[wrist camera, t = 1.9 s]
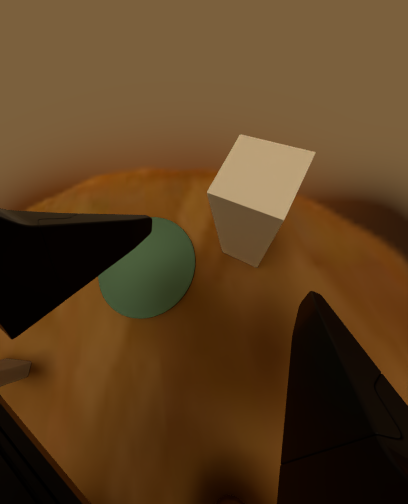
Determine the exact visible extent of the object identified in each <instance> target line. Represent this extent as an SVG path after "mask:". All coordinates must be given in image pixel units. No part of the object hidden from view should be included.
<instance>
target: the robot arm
mask: <svg viewBox="0 0 408 504" xmlns="http://www.w3.org/2000/svg"><path fill="white" fill-rule="evenodd" d="M151 232H152V218H151V217H149V216H147V215H118V214H77V213H48V212H31V211H14V210H6V209H0V328H1V329H2V330H3V331H4V332H5V333H6V334H7V335H8V336H9V337H10V338H11V339H14V338H16V337H17V336H19V335H20V334H21V333H23V332H24V331H25V330H27V329H28V328H29V327H31V326H32V325H33V324H35V323H36V322H37V321H39V320H40V319H41V318H43V317H44V316H45V315H47V314H48V313H49V312H51V311H52V310H53V309H55V308H56V307H57V306H59V305H60V304H61V303H63V302H64V301H65V300H67V299H68V298H69V297H71V296H72V295H73V294H75V293H76V292H77V291H79V290H80V289H81V288H83V287H84V286H85V285H87V284H88V283H89V282H91V281H92V280H93V279H95V278H96V277H97V276H99V275H100V274H101V273H103V272H104V271H105V270H107V269H108V268H109V267H111V266H112V265H113V264H115V263H116V262H117V261H119V260H120V259H121V258H123V257H124V256H126V255H127V254H128V253H130V252H131V251H132V250H133V249H135V248H136V247H137V246H138V245H139V244H140V243H141V242H142V241H143V240H144V239H146V238H147V237H148V236H149V235H150V234H151ZM0 504H91V503H90V502H89V501H88V500H87V498H86V497H85V496H84V495H83V494H82V492H81V491H80V490H79V489H78V488H77V486H76V485H75V484H74V483H73V482H72V480H71V479H70V478H69V477H68V476H67V474H66V473H65V472H64V471H63V470H62V468H61V467H60V466H59V465H58V464H57V462H56V461H55V460H54V459H53V458H52V456H51V455H50V454H49V453H48V452H47V450H46V449H45V448H44V447H43V446H42V444H41V443H40V442H39V441H38V440H37V438H36V437H35V436H34V435H33V434H32V433H31V431H30V430H29V429H28V428H27V427H26V425H25V424H24V423H23V422H22V421H21V419H20V418H19V417H18V416H17V415H16V413H15V412H14V411H13V410H12V409H11V407H10V406H9V405H8V404H7V403H6V401H5V400H4V399H3V398H2V397H1V395H0ZM277 504H408V406H407V404H406V403H405V402H404V401H403V399H402V398H401V397H400V396H399V394H398V393H397V392H396V391H395V389H394V388H393V387H392V385H391V384H390V383H389V382H388V380H387V379H386V378H385V376H384V375H383V374H381V371H380V370H379V369H378V367H377V366H376V365H375V364H374V362H373V361H372V360H371V358H370V357H369V356H368V355H367V353H366V352H365V351H364V349H363V348H362V347H361V346H360V344H359V343H358V342H357V340H356V339H355V338H354V337H353V335H352V334H351V333H350V331H349V330H348V329H347V328H346V326H345V325H344V324H343V322H342V321H341V320H340V319H339V317H338V316H337V315H336V313H335V312H334V311H333V310H332V308H331V307H330V306H329V304H328V303H327V302H326V301H325V299H324V298H323V297H322V295H320V294H318V293H316V292H314V291H310V292H309V293H308V294H307V296H306V297H305V298H304V299H303V301H302V302H301V304H300V306H299V309H298V313H297V318H296V322H295V326H294V330H293V335H292V345H291V356H290V367H289V378H288V389H287V400H286V411H285V422H284V433H283V444H282V455H281V466H280V475H279V486H278V497H277Z"/></svg>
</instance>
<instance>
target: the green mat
mask: <svg viewBox="0 0 408 504" xmlns="http://www.w3.org/2000/svg"><path fill="white" fill-rule="evenodd" d="M151 218H152V232H151V234H150V235H149V236H148V237H147V238H146V239H144V240H143V241H142V242H141V243H140V244H139V245H138V246H137V247H136V248H135V249H133V250H132V251H131V252H130V253H128V254H127V255H126V256H124V257H123V258H121V259H120V260H119V261H117V262H116V263H115V264H113V265H112V266H111V267H109V268H108V269H107V270H105V271H104V272H103V273H101V274H100V275H99V276H98V278H99V286H100V289H101V292H102V294H103V297H104V298H105V300H106V302H107V303H108V304H109V305H110V306H111V307H112V308H113V309H114V310H115V311H117V312H118V313H120V314H122V315H124V316H127V317H131V318H149V317H153V316H157V315H159V314H162V313H164V312H166V311H167V310H169V309H170V308H172V307H173V306H174V305H175V304H177V303H178V302H179V301H180V300H181V298H182V297H183V296H184V295H185V293H186V291H187V290H188V288H189V286H190V284H191V282H192V278H193V275H194V270H195V253H194V248H193V246H192V243H191V241H190V239H189V237H188V236H187V234H186V233H185V232H184V231H183V230H182V229H181V228H180V227H179V226H178V225H177V224H175V223H173V222H172V221H169V220H167V219H163V218H157V217H151Z"/></svg>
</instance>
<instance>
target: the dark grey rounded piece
mask: <svg viewBox="0 0 408 504" xmlns="http://www.w3.org/2000/svg"><path fill="white" fill-rule="evenodd" d="M216 504H245V503H244V502H243V501H242V500H241V499H240V498H238V497H236V496H234V495H225V496H223V497H221V498H220V499H219V500H218V501H217V502H216Z"/></svg>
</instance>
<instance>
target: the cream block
mask: <svg viewBox="0 0 408 504" xmlns="http://www.w3.org/2000/svg"><path fill="white" fill-rule="evenodd" d="M314 155H315V152H312V151H308V150H304V149H300V148H295V147H291V146H287V145H283V144H278V143H274V142H270V141H266V140H262V139H258V138H254V137H249V136H245V135H240V136H239V137H238V139H237V141H236V143H235V144H234V146H233V148H232V150H231V151H230V153H229V155H228V157H227V158H226V160H225V162H224V164H223V165H222V167H221V169H220V170H219V172H218V174H217V176H216V177H215V179H214V181H213V183H212V184H211V186H210V188H209V189H208V191H207V195H208V199H209V203H210V207H211V210H212V214H213V218H214V222H215V226H216V229H217V233H218V237H219V241H220V244H221V248H222V252H223V253H226V254H228V255H230V256H232V257H234V258H236V259H239V260H241V261H243V262H245V263H247V264H249V265H252V266H254V267H256V268H257V267H258V265H259V264H260V262H261V260H262V258H263V257H264V255H265V253H266V251H267V249H268V248H269V246H270V244H271V242H272V241H273V239H274V237H275V235H276V233H277V232H278V230H279V228H280V226H281V225H282V223H283V221H284V219H285V217H286V215H287V213H288V211H289V208H290V206H291V204H292V202H293V200H294V198H295V196H296V193H297V191H298V189H299V187H300V184H301V183H302V180H303V178H304V176H305V174H306V172H307V170H308V168H309V165H310V163H311V161H312V159H313V157H314Z"/></svg>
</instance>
